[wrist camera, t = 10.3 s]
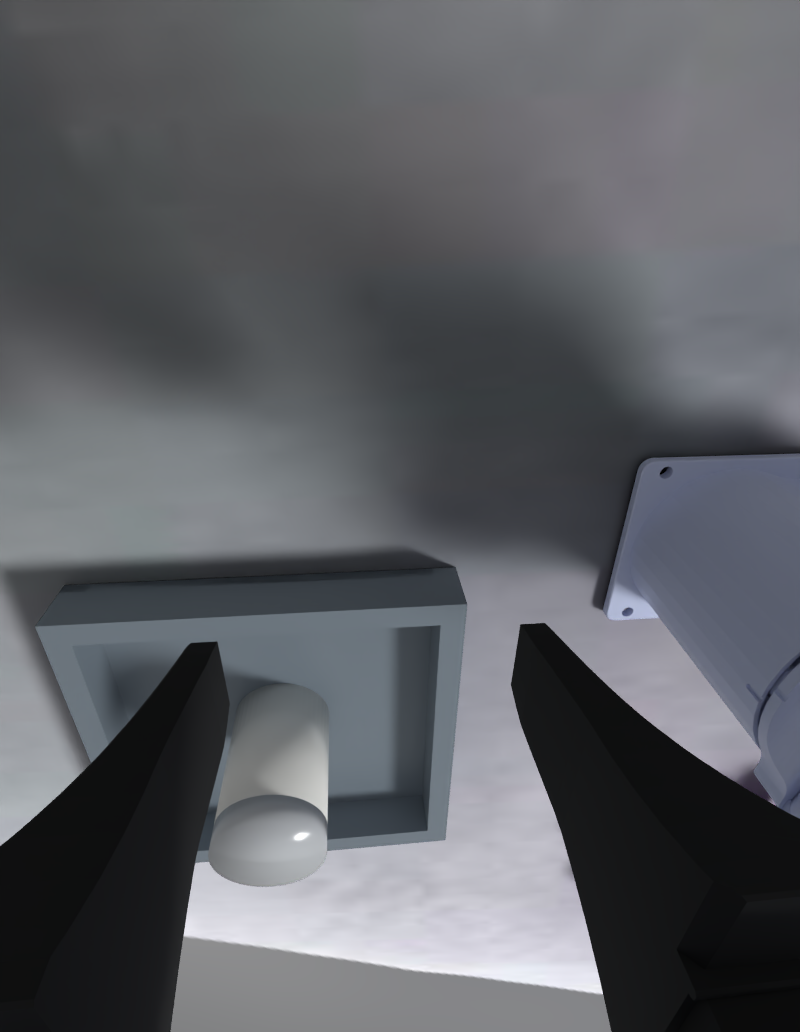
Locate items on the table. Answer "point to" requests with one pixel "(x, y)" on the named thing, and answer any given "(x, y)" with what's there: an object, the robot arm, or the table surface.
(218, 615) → the tray
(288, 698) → the cylinder
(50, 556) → the table surface
